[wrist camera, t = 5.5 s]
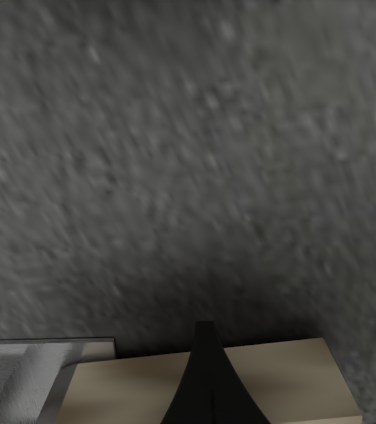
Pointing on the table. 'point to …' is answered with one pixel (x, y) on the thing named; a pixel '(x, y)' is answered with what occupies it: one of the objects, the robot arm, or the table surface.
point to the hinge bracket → (41, 371)
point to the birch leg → (172, 374)
